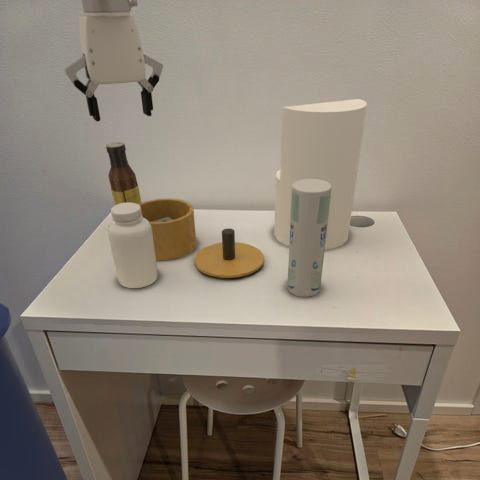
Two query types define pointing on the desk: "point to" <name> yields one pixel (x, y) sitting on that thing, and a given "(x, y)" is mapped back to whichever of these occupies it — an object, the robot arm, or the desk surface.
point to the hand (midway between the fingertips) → (122, 117)
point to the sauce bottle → (122, 176)
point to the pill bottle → (132, 246)
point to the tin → (170, 227)
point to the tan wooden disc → (229, 258)
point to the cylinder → (320, 161)
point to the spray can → (307, 235)
